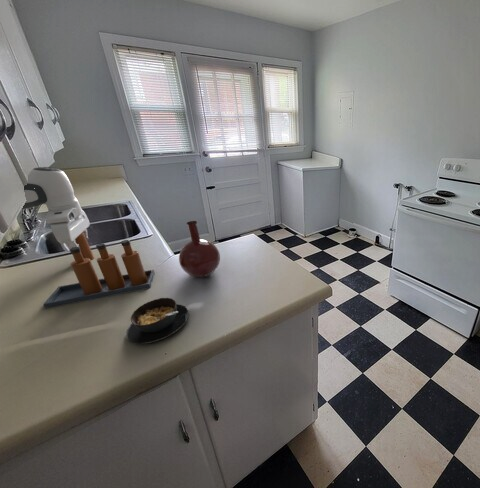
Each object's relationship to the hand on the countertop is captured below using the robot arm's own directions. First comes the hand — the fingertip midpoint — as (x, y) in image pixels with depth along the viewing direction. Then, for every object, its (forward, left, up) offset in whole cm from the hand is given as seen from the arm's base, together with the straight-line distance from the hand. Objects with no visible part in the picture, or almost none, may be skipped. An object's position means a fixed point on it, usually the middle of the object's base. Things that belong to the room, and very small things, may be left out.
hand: (81, 244), depth 107 cm
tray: (+14, -30, -7) cm, 34 cm away
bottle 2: (+17, -30, -6) cm, 35 cm away
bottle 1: (+11, -30, -6) cm, 32 cm away
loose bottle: (0, 0, -7) cm, 7 cm away
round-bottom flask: (+44, -32, -7) cm, 55 cm away
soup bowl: (+33, -57, -7) cm, 66 cm away
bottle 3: (+24, -30, -6) cm, 39 cm away
